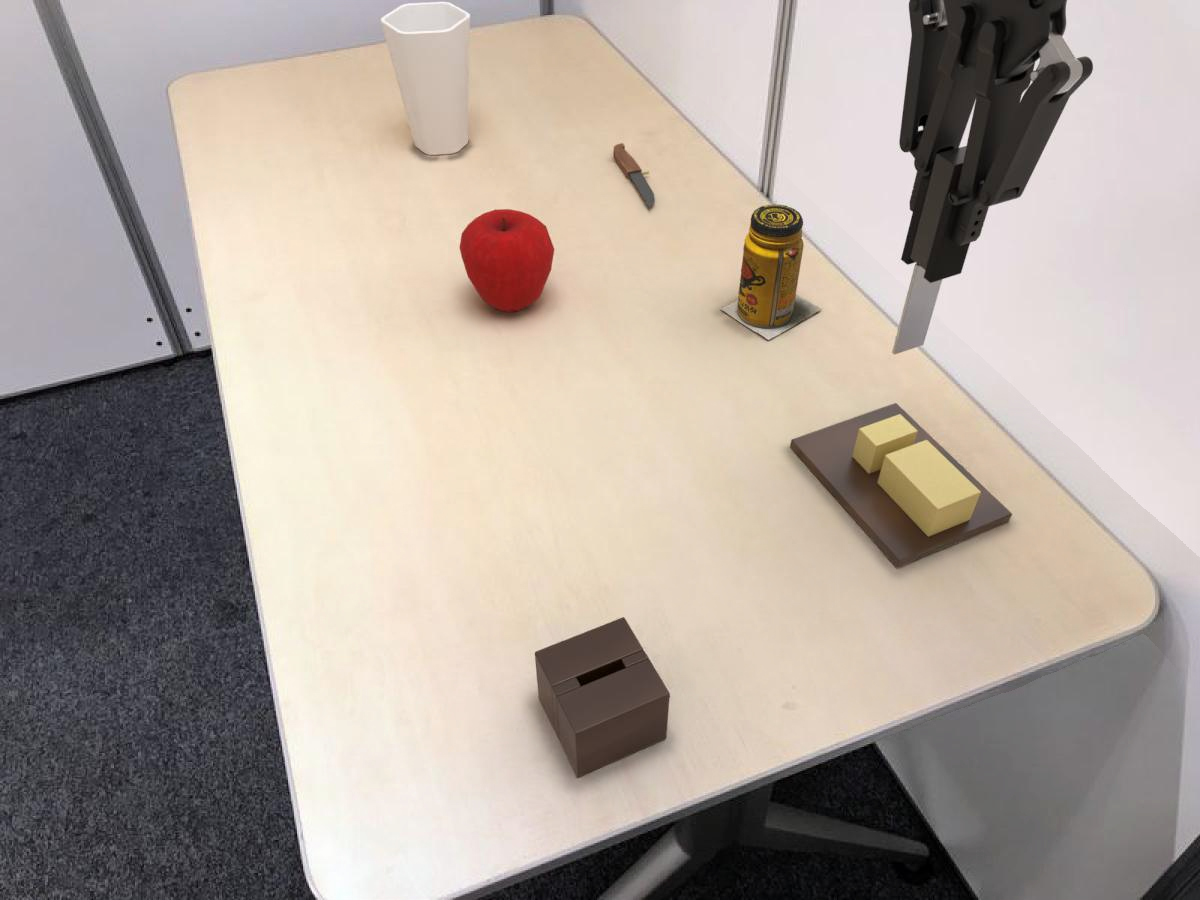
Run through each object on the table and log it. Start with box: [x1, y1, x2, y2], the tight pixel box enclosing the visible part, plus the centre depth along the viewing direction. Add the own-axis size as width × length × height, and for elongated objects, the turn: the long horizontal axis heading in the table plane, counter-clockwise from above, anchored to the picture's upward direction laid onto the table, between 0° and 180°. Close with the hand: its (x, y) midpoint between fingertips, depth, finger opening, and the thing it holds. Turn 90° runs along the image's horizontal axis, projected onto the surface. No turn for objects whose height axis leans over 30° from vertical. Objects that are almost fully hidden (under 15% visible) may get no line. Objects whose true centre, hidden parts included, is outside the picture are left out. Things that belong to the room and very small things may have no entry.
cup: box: [380, 1, 471, 156], centre depth 128 cm, size 11×10×17 cm
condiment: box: [719, 204, 823, 341], centre depth 102 cm, size 7×8×12 cm
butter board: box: [789, 402, 1013, 568], centre depth 87 cm, size 16×12×1 cm
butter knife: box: [891, 145, 967, 356], centre depth 68 cm, size 2×3×16 cm, turn 116°
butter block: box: [877, 440, 981, 537], centre depth 83 cm, size 7×4×4 cm, turn 25°
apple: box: [459, 208, 555, 313], centre depth 103 cm, size 10×10×11 cm
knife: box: [613, 142, 656, 209], centre depth 126 cm, size 17×1×3 cm
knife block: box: [534, 616, 671, 778], centre depth 68 cm, size 7×7×6 cm
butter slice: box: [853, 414, 918, 474], centre depth 87 cm, size 2×4×4 cm, turn 115°
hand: (930, 265), depth 69 cm, fingers closed on butter knife, 2 cm apart
